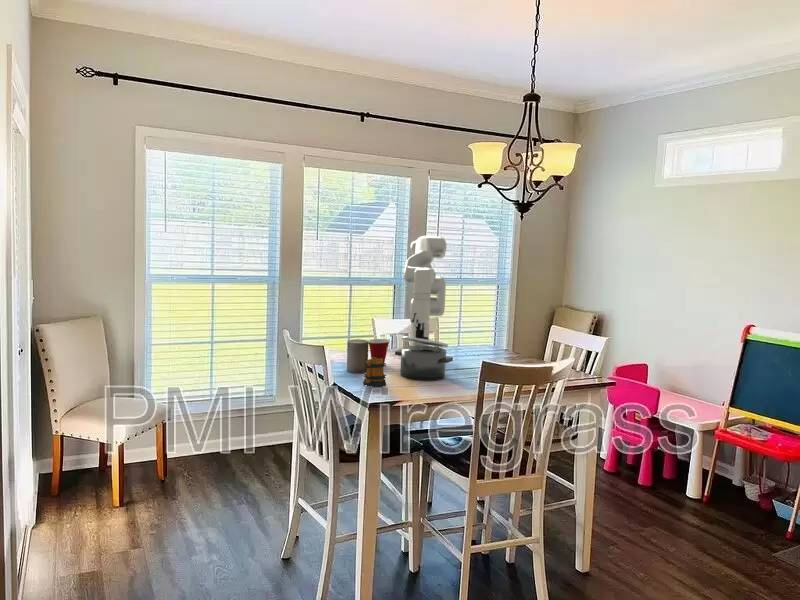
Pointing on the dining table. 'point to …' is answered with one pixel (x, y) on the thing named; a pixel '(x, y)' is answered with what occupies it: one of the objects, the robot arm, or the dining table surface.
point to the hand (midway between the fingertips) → (419, 338)
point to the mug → (375, 373)
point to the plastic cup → (378, 348)
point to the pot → (423, 362)
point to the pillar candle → (357, 355)
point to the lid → (424, 341)
